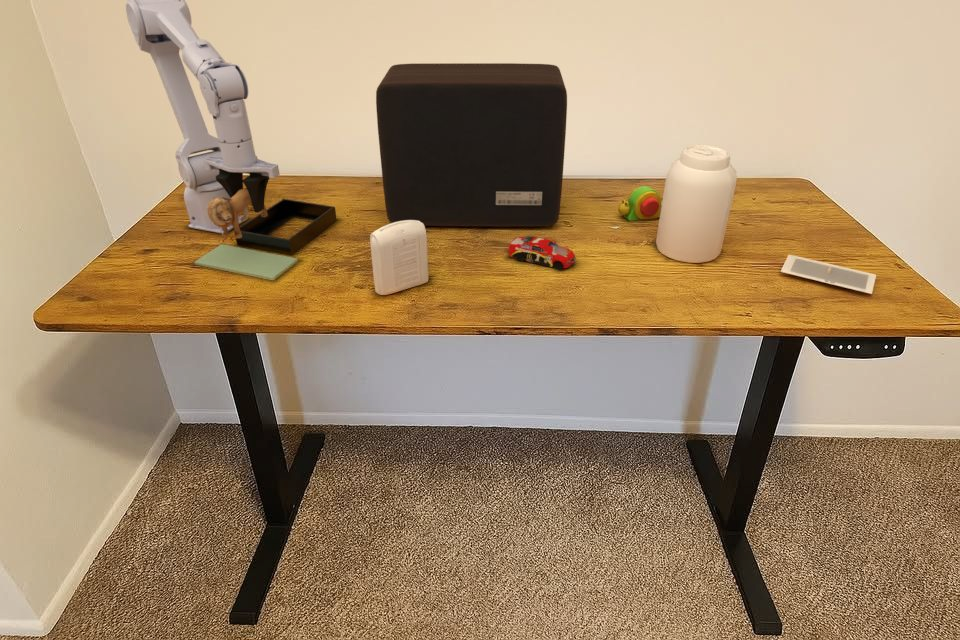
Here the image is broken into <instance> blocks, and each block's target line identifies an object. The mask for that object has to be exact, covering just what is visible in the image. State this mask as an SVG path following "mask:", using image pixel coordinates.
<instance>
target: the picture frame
mask: <svg viewBox="0 0 960 640" xmlns="http://www.w3.org/2000/svg"><path fill="white" fill-rule="evenodd" d="M266 210H267V213H268V215H267V217H262V216H261V214H262V212H259V213H258V214H257V215H256V216H254V217H253V218H251V219H250V220H248V221H245V223H242V224H241V225H239V229H240V231H241V234H242V238H235V243H236V245H237V246H238V247H243V248H248V249H253V250H259V251H260V250H261V251H265V252H269V253H270V252H271V253H275V254H280V255H281V254H282V255H285V256H293V255H294V254H296V253H297V252H299V251H300V250H302V249H303V248H304V247H305V246H307V245H308V244H309V243H310V242H312V241H313V240H314V239H316V237H318V236H319V235H320V234H322V233H323V232H324V231H326V230H327V229H328V228H330V227H331V226H332V225H334V224H335V223H337V221H338V218H337V212H336V211H337V210H336V207H335V206H333V205H326V204H320V203H313V202H306V201H301V200H294V199H289V198H282V199H281V200H279V201H278V202H276V203H275V204H272V205H271V206H270V207H268V208H266ZM293 218H298V219H304V220H309V221H311V222H310V223H309V224H307V225H305V226H303V228H301V229H300V230H298V231H297V232H296V233H295V234H292V236H291V237H289V238H284V237H279V236H273V235H270V234H271V233H273V232H275V231H276V230H278V228H280V227H282V226H283V225H284V224H286V223H287V222H289V221H290V220H291V219H293ZM233 233H234V235H235V231H234V230H233Z"/></svg>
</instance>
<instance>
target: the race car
mask: <svg viewBox="0 0 960 640" xmlns="http://www.w3.org/2000/svg"><path fill="white" fill-rule="evenodd" d="M507 253H508V256H510V257H511V258H513V259H516V260H517V261H518V262H522V263H523V262H524V261H525V262H529V263H534V264H538V265H542V266H546V267H553V268H554V269H555V270H556V271H561V270H562V269H567V268H570V267H572V266H574V265H575V263H576V256H575V252H574V251H573V250H571V249H570V248H567V247H565V246H563V245H562V246H561V245H559V244H557V242H556V241H553V240H551V239H549V238H545V237H541V236H531V235H526V236H518V237H515V238H513V239H512V240H511V241H510V243H509V246H508V248H507Z"/></svg>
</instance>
